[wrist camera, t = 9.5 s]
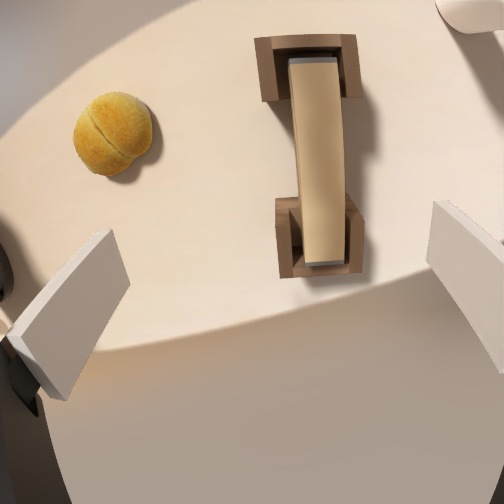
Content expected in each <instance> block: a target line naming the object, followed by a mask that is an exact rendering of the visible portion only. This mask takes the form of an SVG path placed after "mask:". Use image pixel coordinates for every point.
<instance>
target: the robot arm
mask: <svg viewBox="0 0 504 504" xmlns="http://www.w3.org/2000/svg"><path fill="white" fill-rule="evenodd" d="M426 262H427V263H428V264H429V266H430V267H431V268H432V270H433V271H434V272H435V274H436V275H437V276H438V278H439V279H440V280H441V282H442V283H443V285H444V286H445V287H446V289H447V290H448V291H449V293H450V294H451V296H452V297H453V299H454V300H455V301H456V303H457V305H458V306H459V307H460V309H461V310H462V312H463V313H464V315H465V316H466V318H467V320H468V321H469V323H470V324H471V326H472V327H473V329H474V331H475V332H476V333H477V335H478V337H479V338H480V340H481V342H482V343H483V345H484V347H485V348H486V350H487V352H488V354H489V355H490V357H491V359H492V360H493V362H494V364H495V366H496V367H497V369H498V371H499V373H500V374H502V373H504V246H503V245H502V244H501V243H500V242H499V241H498V240H497V239H495V238H494V237H493V236H492V235H491V234H490V233H489V232H487V231H486V230H485V229H484V228H483V227H482V226H480V225H479V224H478V223H477V222H476V221H474V220H473V219H472V218H471V217H469V216H468V215H467V214H466V213H464V212H463V211H462V210H461V209H459V208H458V207H457V206H455V205H454V204H453V203H452V202H450V201H449V200H441V201H433V211H432V220H431V228H430V236H429V243H428V249H427V255H426ZM129 286H130V281H129V278H128V276H127V273H126V270H125V267H124V264H123V261H122V258H121V255H120V252H119V249H118V246H117V243H116V240H115V237H114V234H113V230H112V229H107V230H100V231H97V232H96V233H95V234H94V235H93V236H92V237H91V238H90V239H89V240H88V241H87V242H86V243H85V244H84V245H83V246H82V247H81V248H80V249H79V250H78V251H77V252H76V253H75V254H74V255H73V256H72V257H71V258H70V259H69V260H68V261H67V263H66V264H65V265H64V266H63V267H62V268H61V269H60V270H59V271H58V272H57V273H56V274H55V276H54V277H53V278H52V279H51V280H50V281H49V282H48V283H47V285H46V286H45V287H44V288H43V289H42V290H41V291H40V293H39V294H38V295H37V296H36V297H35V298H34V300H33V301H32V302H31V303H30V304H29V306H28V307H27V308H26V309H25V310H24V312H23V313H22V314H21V315H20V316H19V318H18V319H17V320H16V321H15V323H14V324H13V325H12V327H11V328H10V329H9V330H8V332H7V333H6V334H5V337H4V338H3V339H2V341H1V342H0V504H72V503H71V500H70V497H69V495H68V492H67V489H66V486H65V484H64V481H63V478H62V475H61V472H60V469H59V466H58V462H57V459H56V456H55V453H54V449H53V445H52V442H51V438H50V434H49V430H48V426H47V421H46V417H45V412H44V408H43V403H42V399H41V397H40V396H39V394H38V393H37V391H38V389H39V388H40V386H41V387H42V388H43V389H44V391H45V392H46V393H47V395H48V396H49V397H50V398H54V399H58V400H63V401H67V399H68V397H69V395H70V393H71V390H72V389H73V387H74V385H75V382H76V381H77V379H78V377H79V375H80V373H81V371H82V369H83V367H84V365H85V363H86V361H87V359H88V358H89V356H90V354H91V352H92V350H93V348H94V347H95V345H96V343H97V341H98V339H99V337H100V336H101V334H102V332H103V330H104V328H105V327H106V325H107V323H108V321H109V320H110V318H111V316H112V314H113V313H114V311H115V309H116V308H117V306H118V304H119V302H120V301H121V299H122V297H123V296H124V294H125V292H126V291H127V289H128V287H129ZM12 289H13V275H12V271H11V267H10V264H9V261H8V259H7V257H6V254H5V252H4V251H3V249H2V247H1V245H0V303H2V302H3V301H4V300H5V299H6V298H7V297H8V296H9V295H10V294H11V292H12ZM490 504H504V466H503V469H502V472H501V475H500V478H499V481H498V484H497V486H496V489H495V491H494V494H493V496H492V499H491V501H490Z"/></svg>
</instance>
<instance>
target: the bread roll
mask: <svg viewBox="0 0 504 504" xmlns="http://www.w3.org/2000/svg"><path fill="white" fill-rule="evenodd" d="M73 141H74V145H75V148H76V151H77V153H78V155H79V157H80V158H81V160H82V161H83V163H84V164H85V165H86V166H87V168H88V169H89V170H90V171H91V172H93V173H95V174H100V175H104V176H113V175H116V174H118V173H121V172H123V171H124V170H125V169H127V168H128V166H129V165H130V164H131V163H132V162H133V160H134V159H135V158H137V157H138V156H141V155H143V154H144V153H145V152H146V151H147V150H148V149H149V147H150V145H151V142H152V122H151V117H150V113H149V110H148V109H147V107H146V105H145V104H144V103H143V102H142V101H141V100H140V99H138V98H136V97H134V96H132V95H130V94H126V93H123V92H113V93H107V94H104V95H101V96H99V97H97V98H96V99H94V100H93V101H92V102H91V103H90V104H89V106H88V107H87V108H86V109H85V111H84V112H83V113H82V114H81V116H80V117H79V119H78V121H77V123H76V126H75V129H74V135H73Z"/></svg>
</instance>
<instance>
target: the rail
mask: <svg viewBox="0 0 504 504" xmlns="http://www.w3.org/2000/svg"><path fill="white" fill-rule="evenodd" d="M286 66H287V75H288V84H289V93H290V102H291V112H292V122H293V133H294V144H295V156H296V168H297V182H298V196H299V212H300V229H301V241H302V247H303V254H304V260H305V267H310V266H324V265H337V264H344V248H345V174H344V146H343V127H342V111H341V98H340V87H339V76H338V66H337V57H317V58H293V59H289V61H288V63H287V65H286Z"/></svg>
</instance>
